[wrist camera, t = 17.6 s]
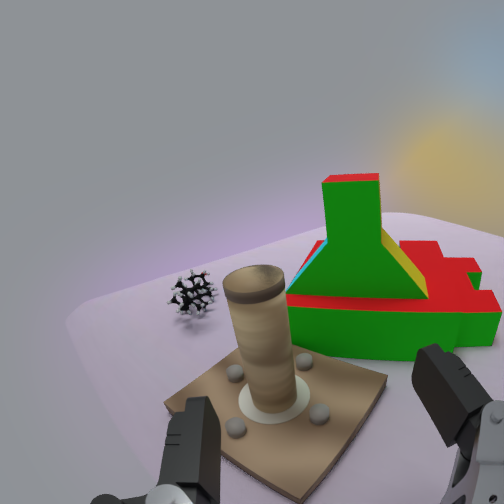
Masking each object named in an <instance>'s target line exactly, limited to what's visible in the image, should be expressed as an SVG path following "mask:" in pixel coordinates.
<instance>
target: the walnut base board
mask: <svg viewBox="0 0 504 504" xmlns="http://www.w3.org/2000/svg"><path fill="white" fill-rule="evenodd" d="M292 351H293V360H294V369H295V378H296V388H297V399H296V402H295V403H294V404H293V406H292V407H290V408H289V409H287V410H286V411H283V412H280V413H275V414H270V413H264V412H262V411H260V410H258V409H257V408H256V407H255V406H254V404H253V401H252V398H251V394H250V390H249V386H248V382H247V379H246V375H245V371H244V367H243V363H242V359H241V355H240V351H239V347H238V348H237V349H235V350H234V351H233V352H231V353H230V354H229V355H228V356H226V357H225V358H224V359H222V360H221V361H220V362H218V363H217V364H216V365H214V366H213V367H212V368H210V369H209V370H208V371H206V372H205V373H204V374H202V375H201V376H199V377H198V378H197V379H195V380H194V381H193V382H191V383H190V384H188V385H187V386H186V387H184V388H183V389H181V390H180V391H179V392H177V393H176V394H174V395H173V396H171V397H170V398H169V399H167V400H166V401H164V404H165V406H166V408H167V410H168V411H169V413H171V414H172V415H174V414H175V412H183V411H185V404H186V400H187V398H188V397H200V396H208V397H209V399H210V401H211V403H212V405H213V407H214V409H215V412H216V414H217V416H218V418H219V421H220V425H221V455H222V456H223V457H225V458H226V459H228V460H229V461H230V462H232V463H233V464H235V465H236V466H238V467H239V468H240V469H242V470H243V471H245V472H246V473H248V474H249V475H251V476H252V477H254V478H255V479H257V480H259V481H260V482H262V483H263V484H265V485H267V486H268V487H270V488H272V489H273V490H275V491H277V492H278V493H280V494H282V495H284V496H285V497H287V498H289V499H291V500H292V501H294V502H296V503H298V504H302V503H303V502H304V501H305V500H306V499H307V498H308V496H309V495H310V494H311V493H312V492H313V491H314V490H315V488H316V487H317V486H318V485H319V484H320V482H321V481H322V480H323V479H324V477H325V476H326V475H327V474H328V472H329V471H330V470H331V469H332V467H333V466H334V465H335V463H336V462H337V461H338V459H339V458H340V457H341V455H342V454H343V453H344V451H345V450H346V448H347V447H348V446H349V444H350V443H351V441H352V440H353V438H354V437H355V435H356V434H357V432H358V431H359V429H360V428H361V426H362V425H363V423H364V422H365V420H366V419H367V417H368V415H369V414H370V412H371V411H372V409H373V407H374V406H375V404H376V402H377V401H378V399H379V397H380V395H381V394H382V392H383V390H384V388H385V387H386V382H387V377H388V375H385V374H382V373H378V372H375V371H372V370H368V369H365V368H362V367H359V366H355V365H352V364H349V363H346V362H343V361H340V360H337V359H334V358H331V357H328V356H325V355H322V354H319V353H316V352H313V351H310V350H307V349H304V348H301V347H299V346H296V345H293V344H292Z"/></svg>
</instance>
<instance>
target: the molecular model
mask: <svg viewBox="0 0 504 504" xmlns="http://www.w3.org/2000/svg"><path fill="white" fill-rule="evenodd" d="M190 272H191V274H192V275H191V277H190V278H184V280H190V281H192V283H193V287H192V288H187V285H184V284H183V283H182V282H181V280H182V277H181V276H179V277H178V279H179V280H178V281H177V283H176V284H177V285H175V286H173V287H171V290H174V289H175V288H177V287H179V288H180V287H181V288H182V289H183V290H182V291H177V292H173V295H174V296H173V298H172V300H170V301H168V302H167V304H170V303H176V304H178V305H179V306H180V307H179V308H178V309H179V310H176V313H179V312H180V311H181V312H180V313H181V314H183V311H186V312H187V313H188V314H189V315H191V311H190V310H189V305H191V306H192V307H193V308H195V306H196V307H197V315H200V309H201V308H202V307H203V311H206V305H208V304H212V301H209V302H204V301H203V300H202V299H201V298H202V296H205V295H208V296H210V298H211V300H214V298H213V296H212V295H211V294H212V293H211V292H212V291H217V288H211V287H209V288H208V287H206V286H207V285H213V282H209V283H208V282H206V280H205V278H204V277H205V275H210V273H206V270H204V271H203V272H202V273H201V275H195V273H193V270H192V269H190ZM196 277H200V278H202V280H203V282H204V283H203V284H204V285H202V286H200V282H201V279H200V278H199V279H198V282H197V281H196V282H194V278H196ZM197 289H200V290H199V292H198V290H197ZM204 289H207V290H208V291H207V293H205V292H206V290H204ZM194 291H195V292H196V293H197V294H198V295H197V296H196V297H194V296H193V294H194ZM201 292H203V294H201ZM176 294H178V296H180V297H181V298H182V299H183V302H182V303H180V302H178V301H177V299H176ZM184 295H185V296H184ZM195 299H197V302H200V301H201V304H196V303H195V302H193V301H194V300H195Z"/></svg>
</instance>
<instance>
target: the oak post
mask: <svg viewBox="0 0 504 504" xmlns="http://www.w3.org/2000/svg"><path fill="white" fill-rule="evenodd" d="M223 288H224V292H225V296H226V298H227V302H228V306H229V310H230V315H231V319H232V323H233V327H234V331H235V335H236V339H237V343H238V347H239V351H240V355H241V359H242V363H243V367H244V371H245V375H246V379H247V382H248V386H249V390H250V394H251V398H252V401H253V404H254V406H255V407H256V408H257V409H258V410H260V411H262V412H264V413H270V414H275V413H280V412H283V411H286V410H287V409H289V408H290V407H292V406H293V404H294V403H295V402H296V399H297V388H296V378H295V369H294V360H293V351H292V342H291V334H290V325H289V317H288V309H287V301H286V293H285V279H284V273H283V271H282V270H281V269H280V268H278V267H276V266H272V265H253V266H248V267H244V268H241V269H238V270H235V271H233V272H232V273H230V274H229V275H227V276H226V277H225V278H224V280H223Z"/></svg>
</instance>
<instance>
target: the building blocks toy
mask: <svg viewBox="0 0 504 504" xmlns="http://www.w3.org/2000/svg"><path fill="white" fill-rule="evenodd" d="M322 191H323V200H324V209H325V219H326V231H327V238H326V239H325V240H317V242H316V244H315V245H314V247H313V249H312V250H311V252H310V253H309V255H308V257H307V258H306V260H305V261H304V263H303V265H302V266H301V268H300V269H299V271H298V273H297V274H296V276H295V277H294V279H293V280H292V282H291V284H290V285H289V287H288V288H287V290H286V291H285V293H286V301H287V309H288V317H289V325H290V334H291V342H292V344H293V345H296V346H299V347H301V348H304V349H307V350H310V351H313V352H316V353H319V354H322V355H325V356H331V357H342V358H355V359H370V360H389V361H415V359H416V355H417V351H418V350H419V349H420V348H423V347H426V346H428V345H431V344H434V343H437V344H438V345H439V346H440V347H441V348H442V350H443V351H444V352H448V351H449V352H451V353H453V349H454V347H475V346H492V343H493V340H494V337H495V334H496V331H497V328H498V325H499V321H500V318H501V314H502V310H501V308H500V306H499V304H498V302H497V300H496V298H495V296H494V294H493V292H492V290H479V286H480V281H481V275H482V271H481V269H480V268H479V266H478V264H477V262H476V261H475V259H474V258H447V257H443V254H442V252H441V249H440V247H439V245H438V242H437V241H399V246H398V245H397V244H396V243H395V242H394V240H393V239H392V238H391V237H390V236H389V235H388V234H387V233H386V232H385V230H384V229H383V228H382V220H381V198H380V182H379V173H369V174H344V175H330V176H329V177H328V178H326V179H325V180H324V181H323V182H322Z"/></svg>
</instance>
